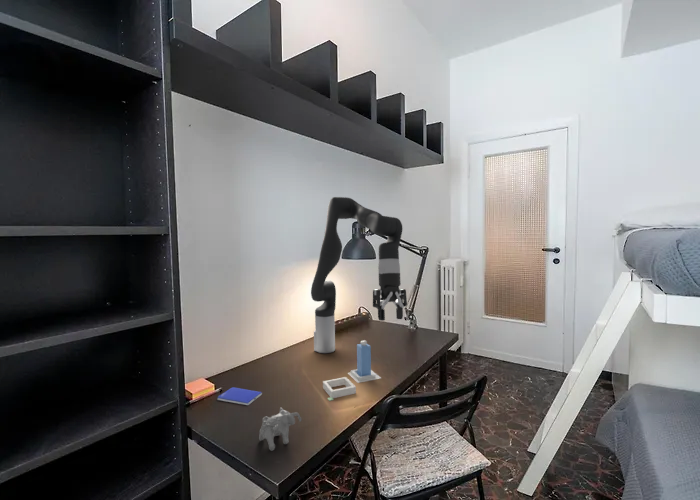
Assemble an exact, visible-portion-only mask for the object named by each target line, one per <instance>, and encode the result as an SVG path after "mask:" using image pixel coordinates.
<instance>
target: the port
mask: <svg viewBox="0 0 700 500" xmlns="http://www.w3.org/2000/svg"><path fill="white" fill-rule="evenodd" d="M340 386H345V387H342V388H336V389H333V388H335V387H340ZM322 388H323V390H324V391H325V393H327V395H328V396H329V397H327V401H329V402H330V401H334V399H336V398H340V397H345V396H350V395H353V394H357V391H356V389H357V388H356V385H355V384H354V383H352V381H351V380H350V379H348V377H347V376H343V377H338V378H333V379H329V380H322Z"/></svg>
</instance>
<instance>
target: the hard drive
mask: <svg viewBox="0 0 700 500" xmlns="http://www.w3.org/2000/svg"><path fill="white" fill-rule="evenodd" d="M262 395H263V392H262V391H256V390H250V389H245V388H240V387H231V388H229V389H228V390H225V391H224V392H223V393H221V394H219V395H218V396H217V401H223V402H227V403H228V402H229V403H232V404H233V403H234V404H239V405H245V406H249V405H251V404H252V403H253V402H255V401H256V400H257V399H258V398H259V397H261V396H262Z"/></svg>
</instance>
